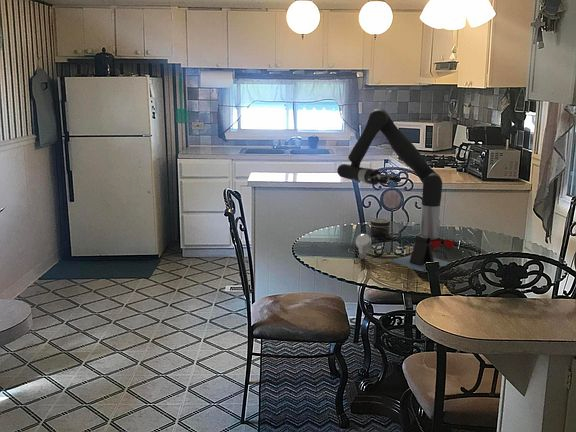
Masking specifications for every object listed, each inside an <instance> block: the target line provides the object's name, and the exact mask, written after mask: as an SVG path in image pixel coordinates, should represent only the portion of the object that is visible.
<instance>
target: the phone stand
mask: <svg viewBox="0 0 576 432" xmlns="http://www.w3.org/2000/svg"><path fill="white" fill-rule="evenodd" d="M431 241H432V240H431V239H430V238H429V237H426V236H422V235H419V234H417V235H416V236H415V242H414V245H413V249H412V252H411V255H410V256H411V258H410V261H409V262H411V263H413V264H416V265H419V266H421V265H424V264H425V263H426V262H434V261H433V251H432V250H431V245H430V244H431Z"/></svg>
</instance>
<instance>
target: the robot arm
mask: <svg viewBox="0 0 576 432" xmlns="http://www.w3.org/2000/svg"><path fill="white" fill-rule="evenodd" d="M368 116H369V117H368V119H367V122H366V125H365V127H364V129H363V132H362V133H361V135H360V137H359V138H358V140H357V141H356V143H355V144H354V145H353V147H352V149H351V151H350V153H349V154H348V156H347V158H348V160H349V161H350V162H351V163H350V164H346V163H342V164H340V165H338V167H337V169H336V172H337V175H338V176H339V177H341V178H343V179H347V180H354V181H357V182H360V183H361V182H362V183H363V184H369V185H372V186H373V185H374V186H377V185H378V184H383V185H387V184H388V183H390V182H392V183H393V182H394V183H400V182H401V180H400V179H401V178H400V177H397V175H394V174H389V173H388V174H384V173H381V171H380V170H378V169H375V168H368V167H362V166H361V162H362V161H363V159H364V157H365V155H366V154H367V152H368V151H369V149H370V146H371V144H372V142H373V140H374V139H375V137H376V136H377V134H378V133H379V132H381V134H383V136H385V138H386V140H387V142H388V143H389V145H390V146H391V148H392V150H393V151H394V153H395V154H396V155H397V156H398V158H399V159H400V160H401V161H402V162H403V163H404V164H405V165H406V166H407V167H409V168H410V169H411V170H413V172H414V173H415V175H417V177H418V178H419V180H420V181H421V183H422V197H421V207H420V222H419V223H420V225H419V234H418V235H422V236H426V237H429V238H430V239H431V241H435V240H439V239H438V238H440V230H441V229H440V228H441V227H440V226H441V219H440V214H441V213H440V212H441V202H442V192H443V179H442V178H441V176H440V174H438V173H437V172H436V171H434V169H433V168H432V167H431V166H430V165H429V164H428V163H427V162H426V161H425V159H424V157H423V156H422V155H421V153H420V152H419V150H418V148H416V146H415V145H414V144H413V143H412V141H411V140H410V139H409V138H408V137H407V136H406V135H405V134H404V133H403V131H401V130H400V129H399V128H398V127H397V125H396V124H395V123H394V121H393V120H392V118H391V117H390V116H389V113H388V112H387V111H386V110H385V109H383V108H375V109H373V110H371V112H370V113H369V115H368Z"/></svg>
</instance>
